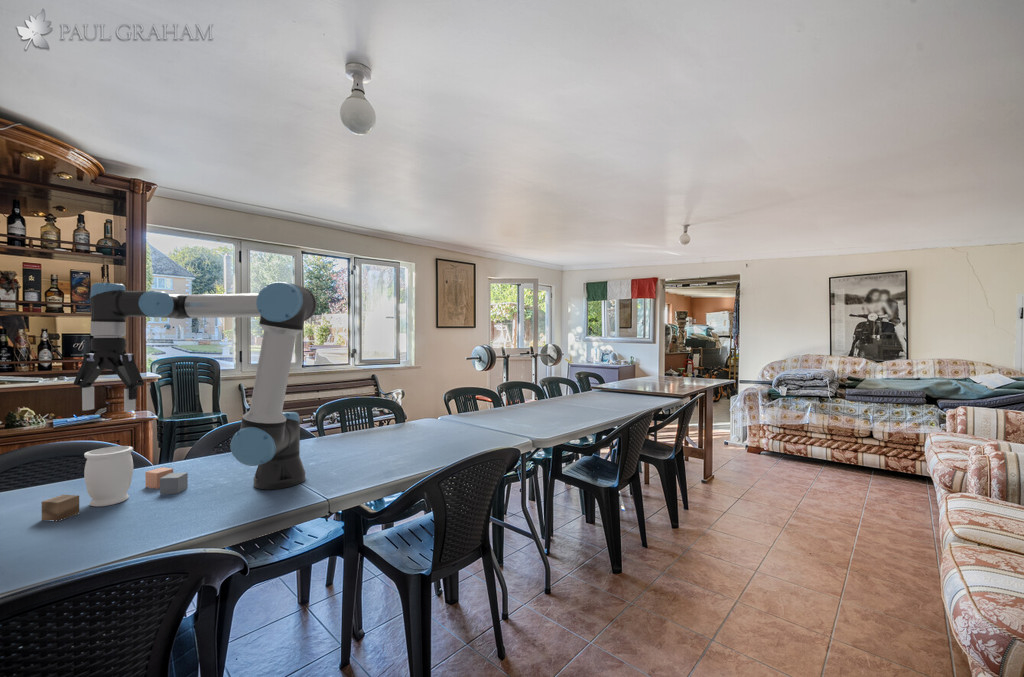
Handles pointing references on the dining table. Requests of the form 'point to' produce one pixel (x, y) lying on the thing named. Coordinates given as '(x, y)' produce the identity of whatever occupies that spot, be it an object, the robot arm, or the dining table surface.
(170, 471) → the terracotta block
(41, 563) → the dining table surface
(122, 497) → the jar
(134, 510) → the dining table surface
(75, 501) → the walnut block
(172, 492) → the grey block
